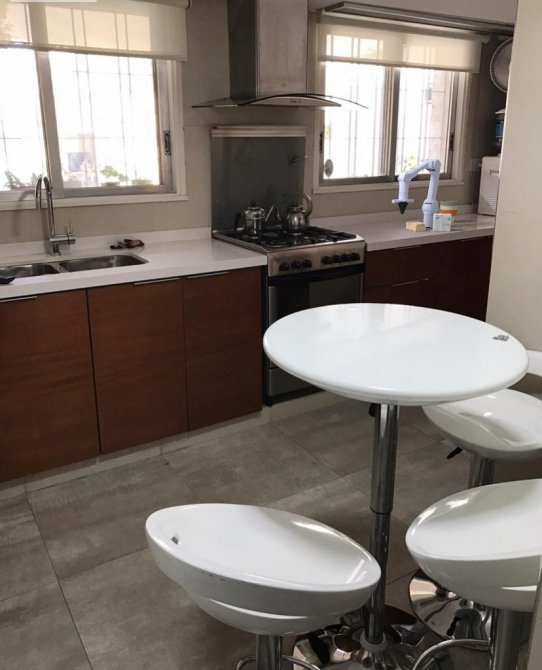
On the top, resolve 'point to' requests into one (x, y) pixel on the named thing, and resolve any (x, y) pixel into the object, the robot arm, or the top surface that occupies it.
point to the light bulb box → (441, 222)
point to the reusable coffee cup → (449, 208)
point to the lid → (415, 223)
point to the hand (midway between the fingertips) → (402, 214)
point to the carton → (416, 227)
